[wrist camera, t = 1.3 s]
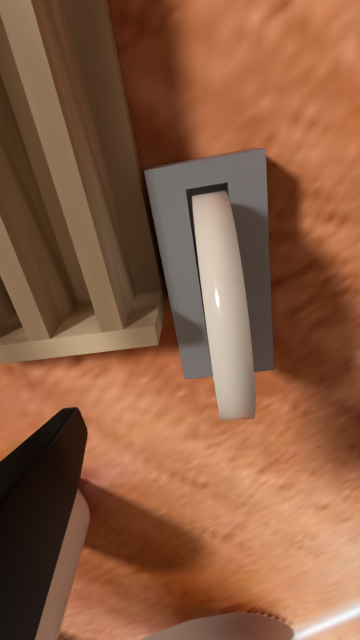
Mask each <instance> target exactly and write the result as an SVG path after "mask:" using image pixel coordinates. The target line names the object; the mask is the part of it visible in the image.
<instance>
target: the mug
mask: <svg viewBox="0 0 360 640" xmlns="http://www.w3.org/2000/svg"><path fill="white" fill-rule="evenodd" d="M89 523H90V510H89V507H88V504H87V502H86V500H85V498H84V497H83V495H82V493H81V491H80V490H79V489H78V491H77V494H76V498H75V502H74V505H73V509H72V512H71V516H70V519H69V523H68V526H67V530H66V533H65V537H64V540H63V544H62V547H61V551H60V554H59V558H58V561H57V565H56V568H55V572H54V575H53V579H52V582H51V586H50V589H49V593H48V596H47V599H46V603H45V606H44V610H43V613H42V617H41V620H40V624H39V627H38V631H37V634H36V638H35V640H58V636H59V633H60V629H61V625H62V622H63V618H64V614H65V611H66V607H67V604H68V600H69V596H70V593H71V589H72V585H73V582H74V578H75V574H76V571H77V567H78V563H79V560H80V556H81V553H82V549H83V545H84V542H85V538H86V534H87V531H88V527H89Z"/></svg>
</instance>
